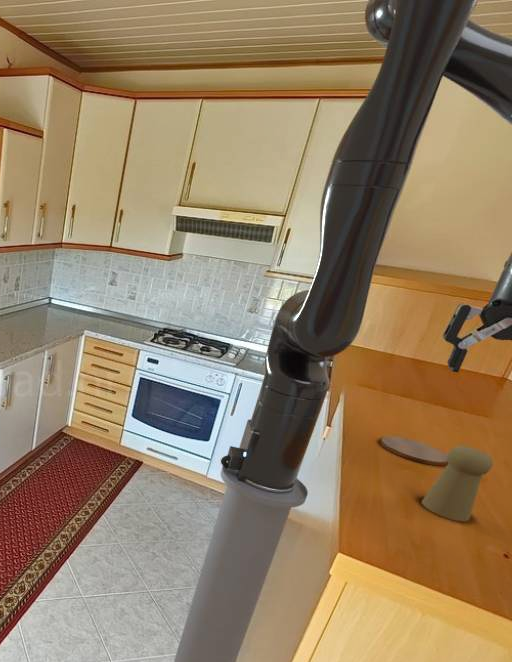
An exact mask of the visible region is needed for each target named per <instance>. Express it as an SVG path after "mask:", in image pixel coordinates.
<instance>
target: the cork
mask: <svg viewBox="0 0 512 662" xmlns="http://www.w3.org/2000/svg"><path fill="white" fill-rule="evenodd" d="M446 455H447V461H448V462H447V464H446V466H445V468H444V469H443V471H441V473H440V475H439V476H438V477H437V479H436V480H435V482H434V483H433V484H432V486H431V487H430V489H429V490H428V492H427V493H426V494H425V496H424V497H423V498H422V500H421V504H422V505H423V507H424V508H426V509H427V510H428V511H430V512H432V513H434V514H436V515H438V516H440V517H443V518H446V519H448V520H451V521H455V522H468V521H469V520H470V518H471V515H472V511H473V508H474V504H475V501H476V498H477V494H478V491H479V487H480V485H481V484H480V483H481V480H482V478H483V476H484V475H486V474H488V472H490V471H491V469H492V468H493V466H494V460H493V458H492V456H491V455H489V454H488V453H486V452H484V451H483V450H480V449H477V448H474V447H470V446H465V445H458V446H454V447H452V448H450V450H449V451H448V453H447V454H446Z"/></svg>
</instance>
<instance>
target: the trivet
mask: <svg viewBox="0 0 512 662" xmlns="http://www.w3.org/2000/svg"><path fill="white" fill-rule="evenodd" d="M380 444H381V446H382V447H383V448H384V449H386V450H387V451H389V452H391V453H393V454H395V455H397V456H400V457H402V458H404V459H408V460H410V461H414V462H417V463H420V464H424V465H425V464H426V465H431V466H445V465H448V461H447V455H448V454H446V453H445V452H443V451H441V450H440V449H438V448H436V447H434V446H431V445H429V444H426V443H423V442H421V441H417V440H414V439H410V438H407V437H403V436H402V437H401V436H393V435H389V436H388V435H387V436H383V437H382V438H381V440H380Z"/></svg>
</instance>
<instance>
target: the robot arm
mask: <svg viewBox="0 0 512 662" xmlns="http://www.w3.org/2000/svg"><path fill="white" fill-rule="evenodd" d="M477 2H478V0H368V1H367V3H366V6H365V10H364V24H365V27H366V30H367V32H368V34H369V35H370V37H371V38H372V39H373V40H374V41H376V42H378V44H380V45H382V46H383V47H385V48H386V49H385V52H384V56H383V59H382V62H381V65H380V68H379V71H378V73H377V75H376V78H375V80H374V82H373V84H372V86H371V88H370V90H369V92H368V94H367V95H366V97H365V98H364V100H363V101H362V104H361V105H360V106H359V108H358V109H357V112H356V113H355V114H354V117H353V118H352V119H351V121H350V123H349V125H348V126H347V128H346V130H345V132H344V133H343V135H342V137H341V139H340V141H339V143H338V145H337V147H336V149H335V151H334V155H333V157H332V160H331V164H330V167H329V170H328V173H327V177H326V180H325V183H324V186H323V190H322V194H321V200H320V208H319V209H320V210H319V254H318V256H319V257H318V262H317V265H316V270H315V272H314V275H313V278H312V280H311V284H310V286H309V289H306V290H301V291H298V292H297V293H294V294H293V295H291V296H290V297H288V298H287V299H286V300H285V301H284V302H283V304H282V305H281V306H280V308H279V309H278V312H277V314H276V317H275V319H274V323H273V325H272V326H273V327H272V330H271V334H270V338H269V342H268V345H267V349H266V353H265V356H264V357H265V358H264V375H263V379H262V383H261V387H260V390H259V393H258V396H257V400H256V402H255V406H254V409H253V412H252V416H251V419H248V420H247V421H246V424H245V427H244V431H243V434H242V437H241V441H240V444H239V447H236V446H231V445H230V446H229V449H228V452H227V454H226V455H224V456H223V457H221V459H220V464H221V465H222V466H224V468H225V469H227V468H229V469H233V470H235V473H236V475H237V479H238V481H241V482H245V483H247V484H249V485H251V486H253V487H255V488H257V489H260V490H263V491H267V492H271V493H278V494H285V493H290V492H291V491H293V489H294V486H295V482H296V479H298V475H299V473H300V470H301V467H302V464H303V462H304V459H305V455H306V453H307V450H308V447H309V444H310V441H311V440H312V436H313V433H314V431H315V427H316V425H317V422H318V419H319V416H320V413H321V411H322V408H323V405H324V402H325V399H326V396H327V395H328V394H327V393H328V391H329V388H330V379H329V378H330V377H329V375H328V372H327V360H328V358H331V357H334V356H337V355H339V354H340V353H343V352H344V351H345V350H347V348H349V347H350V346H351V345H352V343H353V342H354V341H355V340H356V338H357V336H358V335H359V333H360V329H361V327H362V323H363V319H364V316H365V311H366V307H367V302H368V297H369V294H370V288H371V284H372V279H373V276H374V272H375V268H376V265H377V262H378V259H379V257H380V253H381V251H382V248H383V246H384V243H385V240H386V238H387V234H388V231H389V228H390V226H391V222H392V219H393V217H394V214H395V211H396V208H397V206H398V203H399V202H400V199H401V196H402V194H403V190H404V189H405V187H406V183H407V180H408V177H409V174H410V171H411V169H412V165H413V162H414V159H415V156H416V152H417V149H418V145H419V143H420V140H421V137H422V135H423V132H424V130H425V127H426V124H427V121H428V118H429V116H430V113H431V110H432V107H433V105H434V102H435V99H436V96H437V93H438V91H439V90H438V89H439V87H440V83H441V82H442V80H443V77H444V78H445V79H447V80H449V81H451V82H452V83H453V84H455V85H457V86H458V87H460V88H462V89H463V90H465V91H466V92H468V93H469V94H471V95H472V96H473V97H475V98H477V100H479V101H481V102H482V103H483V104H484V105H486V106H487V107H488V108H490V109H491V110H492V111H493V112H495V113H496V114H497V115H498V116H500V117H501V118H502V119H503V120H505V121H506V122H507V123H508V124H509V125H511V126H512V37H509V36H506V35H503V34H501V33H498V32H495V31H492V30H490V29H488V28H486V27H484V26H483V25H482V26H481V25H480V24H478V23H476V22H475V21H473V20H471V19H470V18H471V15H472V13H473V11H474V9H475V6H476V4H477ZM477 315H478V316H479V318H480V321H481V322H482V324H480V325H479V326H477V327H476V328H473V329H472V330H471V331H469V332H468V333H467V334H465V335H463V336H462V337H459V334H460V332H461V330H462V328H463V326H464V325H465V322H466V321H470V320H472V319H473V318H474V317H475V316H477ZM490 337H491V338H493V339H494V340H498V341H512V251H511V252H510V254H509V255H508V258H507V260H506V261H505V263H504V264H503V270H502V272H501V273H500V276H499V279H498V281H497V282H496V285H495V287H494V289H493V292H492V294H491V296H490V298H489V300H488V302H487V304H486V305H485V306H483V307H478V306H473V305H469V304H468V303H464V302H463V303H459V304H458V305H457V307H456V309H455V311H454V313H453V315H452V316H451V318H450V321H449V322H448V324H447V327H446V328H445V330H444V332H443V334H442V338H443V339H444V340H445V342H447V343H449V344H452V345H453V348H452V350H451V353H450V355H449V358H448V360H447V366H448V367H449V370H450V371H451V372H453V373H459V371H460V369H461V367H462V364H463V363H464V360H465V359H466V356H467V354H468V351H469V350H468V348H470V347H471V346H473V345H475V344H477V343H478V342H482V341H485V340H486V339H488V338H490ZM227 462H228V463H227Z"/></svg>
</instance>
